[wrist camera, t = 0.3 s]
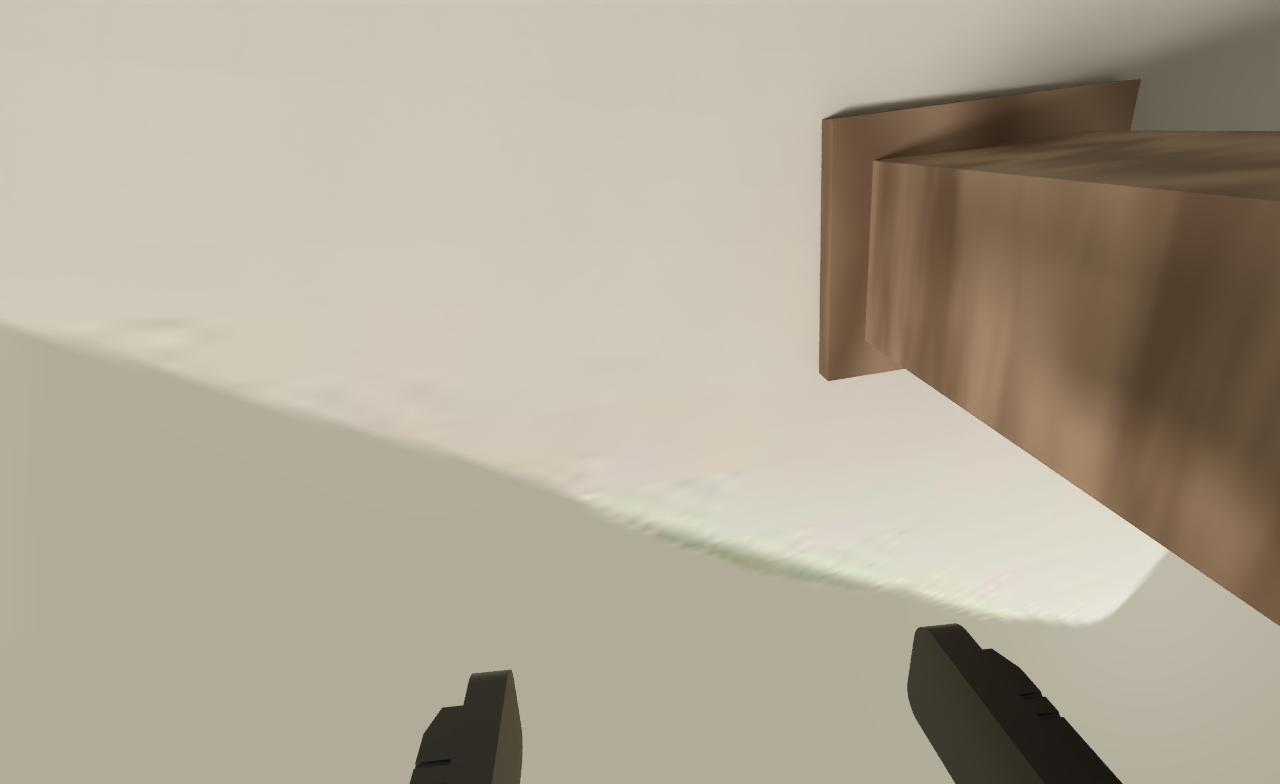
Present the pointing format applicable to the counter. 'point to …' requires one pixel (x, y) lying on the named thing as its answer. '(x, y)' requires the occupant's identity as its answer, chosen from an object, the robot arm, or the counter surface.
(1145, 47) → the counter surface
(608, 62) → the counter surface
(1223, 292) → the stand
